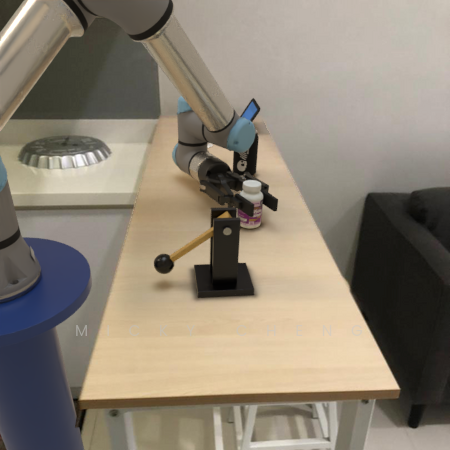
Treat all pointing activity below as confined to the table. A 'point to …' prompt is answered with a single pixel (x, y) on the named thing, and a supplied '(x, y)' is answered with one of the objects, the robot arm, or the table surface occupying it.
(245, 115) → the game console
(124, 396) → the table surface
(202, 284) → the stand
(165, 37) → the robot arm
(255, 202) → the pill bottle
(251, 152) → the beverage can
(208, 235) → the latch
